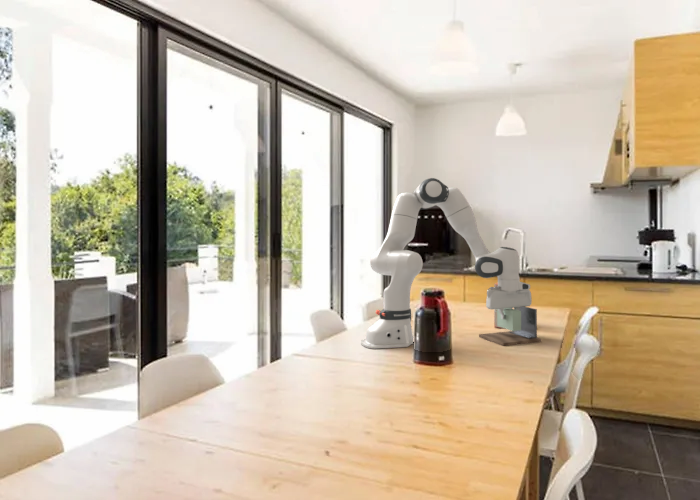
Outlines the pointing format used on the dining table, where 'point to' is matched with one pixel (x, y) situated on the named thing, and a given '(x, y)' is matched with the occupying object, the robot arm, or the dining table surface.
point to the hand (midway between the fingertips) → (509, 318)
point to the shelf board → (507, 338)
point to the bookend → (527, 323)
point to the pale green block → (510, 319)
